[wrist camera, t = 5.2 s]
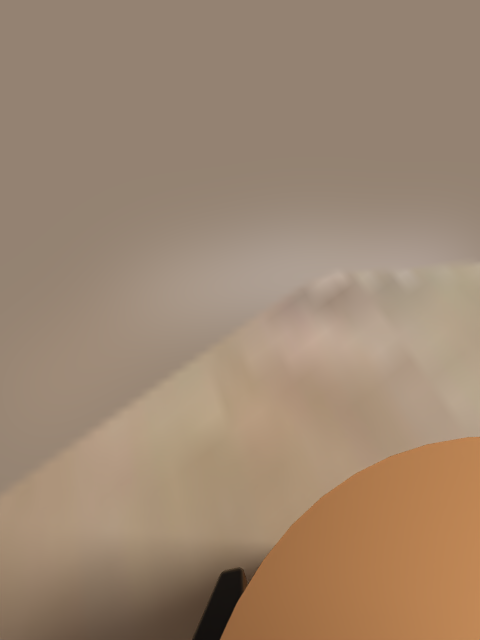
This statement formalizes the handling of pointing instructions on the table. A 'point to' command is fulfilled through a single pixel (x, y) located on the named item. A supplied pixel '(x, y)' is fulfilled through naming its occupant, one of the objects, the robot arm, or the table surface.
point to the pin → (377, 557)
